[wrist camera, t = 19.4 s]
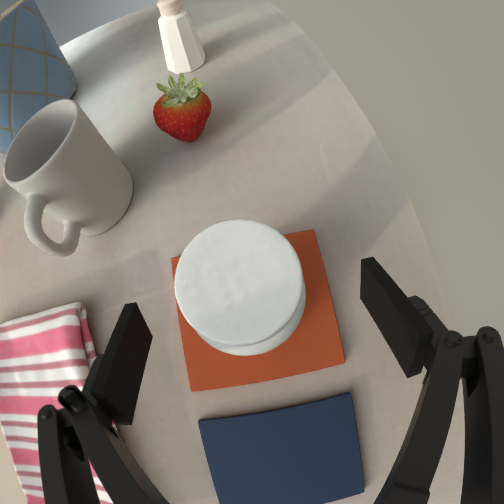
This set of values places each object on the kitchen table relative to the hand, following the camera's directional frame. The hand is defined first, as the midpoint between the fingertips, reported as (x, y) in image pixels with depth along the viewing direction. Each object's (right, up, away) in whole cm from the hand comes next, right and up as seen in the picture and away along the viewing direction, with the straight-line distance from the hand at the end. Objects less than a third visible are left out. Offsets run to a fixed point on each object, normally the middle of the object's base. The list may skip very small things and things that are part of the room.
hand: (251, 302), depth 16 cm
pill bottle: (0, -2, +6) cm, 6 cm away
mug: (-16, +7, +10) cm, 20 cm away
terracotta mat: (0, -2, +6) cm, 7 cm away
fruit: (-6, +14, +12) cm, 20 cm away
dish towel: (-20, -15, +4) cm, 25 cm away
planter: (-36, +26, +18) cm, 48 cm away
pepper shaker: (-9, +28, +17) cm, 34 cm away
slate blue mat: (+3, -14, +2) cm, 14 cm away
